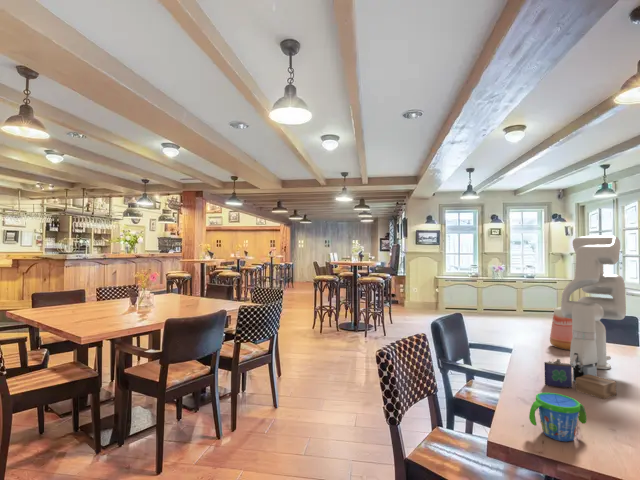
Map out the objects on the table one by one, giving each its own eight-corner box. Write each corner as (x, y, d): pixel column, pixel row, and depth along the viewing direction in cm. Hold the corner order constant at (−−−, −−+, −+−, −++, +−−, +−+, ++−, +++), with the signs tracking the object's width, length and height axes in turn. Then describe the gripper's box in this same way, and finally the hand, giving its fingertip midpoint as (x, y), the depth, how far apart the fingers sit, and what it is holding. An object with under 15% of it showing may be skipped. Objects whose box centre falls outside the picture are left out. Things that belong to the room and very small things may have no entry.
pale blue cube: (581, 379, 146) (581, 362, 147) (596, 384, 141) (596, 366, 141) (573, 381, 144) (572, 364, 144) (587, 386, 139) (587, 368, 139)
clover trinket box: (570, 386, 139) (570, 358, 139) (573, 389, 136) (573, 360, 136) (543, 384, 141) (543, 356, 141) (546, 386, 138) (545, 358, 139)
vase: (588, 351, 188) (587, 295, 190) (561, 351, 189) (560, 295, 190) (569, 344, 203) (568, 292, 204) (544, 344, 203) (543, 292, 204)
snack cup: (540, 445, 96) (540, 406, 96) (520, 426, 106) (519, 391, 107) (600, 446, 95) (599, 408, 96) (573, 427, 106) (573, 392, 106)
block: (588, 387, 139) (588, 374, 139) (616, 395, 131) (615, 381, 131) (575, 391, 134) (575, 377, 135) (603, 400, 127) (603, 385, 127)
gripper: (587, 331, 150) (588, 374, 150) (560, 335, 144) (561, 379, 143) (607, 335, 143) (608, 380, 143) (579, 339, 137) (580, 386, 136)
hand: (584, 379), depth 143 cm, fingers open, 6 cm apart
